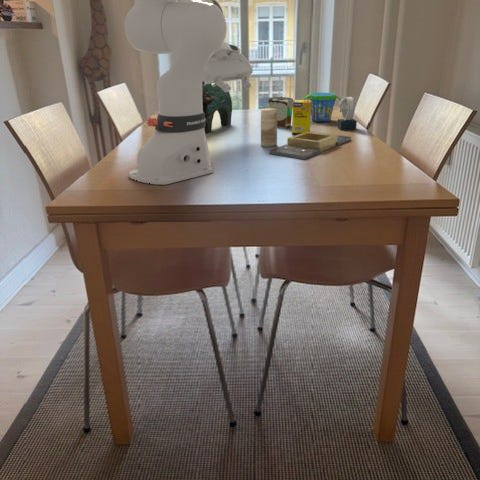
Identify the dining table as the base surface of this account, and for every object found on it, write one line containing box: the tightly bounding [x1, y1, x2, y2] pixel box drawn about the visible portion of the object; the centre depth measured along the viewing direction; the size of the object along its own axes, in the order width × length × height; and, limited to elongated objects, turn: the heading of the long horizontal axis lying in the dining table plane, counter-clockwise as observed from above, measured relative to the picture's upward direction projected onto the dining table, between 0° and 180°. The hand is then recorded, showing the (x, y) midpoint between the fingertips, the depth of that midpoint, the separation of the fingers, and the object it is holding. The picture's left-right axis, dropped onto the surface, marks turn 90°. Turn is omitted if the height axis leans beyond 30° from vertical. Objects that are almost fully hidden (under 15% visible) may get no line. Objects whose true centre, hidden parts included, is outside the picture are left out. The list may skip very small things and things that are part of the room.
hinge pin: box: [260, 107, 278, 148], centre depth 138 cm, size 5×5×11 cm
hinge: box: [268, 131, 352, 160], centre depth 137 cm, size 29×12×3 cm, turn 142°
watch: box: [337, 96, 358, 131], centre depth 159 cm, size 6×8×11 cm
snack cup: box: [302, 92, 342, 123], centre depth 174 cm, size 16×10×10 cm
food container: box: [267, 96, 295, 129], centre depth 167 cm, size 12×6×10 cm, turn 34°
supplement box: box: [291, 99, 312, 136], centre depth 153 cm, size 6×6×11 cm
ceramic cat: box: [202, 81, 233, 134], centre depth 163 cm, size 20×6×20 cm, turn 150°
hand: (238, 89), depth 141 cm, fingers open, 8 cm apart
